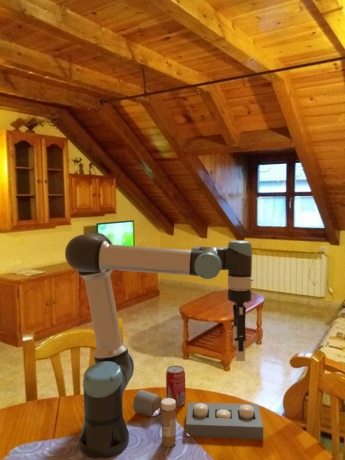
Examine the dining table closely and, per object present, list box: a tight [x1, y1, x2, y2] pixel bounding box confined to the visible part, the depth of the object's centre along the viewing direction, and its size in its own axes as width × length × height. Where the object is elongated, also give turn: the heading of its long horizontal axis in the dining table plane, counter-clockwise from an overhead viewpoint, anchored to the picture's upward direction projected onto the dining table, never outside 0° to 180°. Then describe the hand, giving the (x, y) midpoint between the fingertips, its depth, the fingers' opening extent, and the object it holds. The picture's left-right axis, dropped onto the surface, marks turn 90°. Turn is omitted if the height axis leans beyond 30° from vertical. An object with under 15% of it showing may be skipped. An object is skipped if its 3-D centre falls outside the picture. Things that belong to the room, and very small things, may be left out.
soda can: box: [165, 365, 187, 408], centre depth 145 cm, size 7×7×13 cm
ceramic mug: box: [132, 389, 163, 417], centre depth 139 cm, size 11×8×8 cm
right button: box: [239, 405, 254, 419], centre depth 129 cm, size 5×5×3 cm
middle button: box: [216, 410, 231, 419], centre depth 130 cm, size 5×5×3 cm
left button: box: [194, 402, 208, 418], centre depth 130 cm, size 5×5×3 cm
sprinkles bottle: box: [161, 397, 177, 448], centre depth 120 cm, size 5×5×14 cm
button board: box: [185, 401, 264, 440], centre depth 130 cm, size 24×14×4 cm, turn 85°
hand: (238, 352), depth 129 cm, fingers open, 13 cm apart
